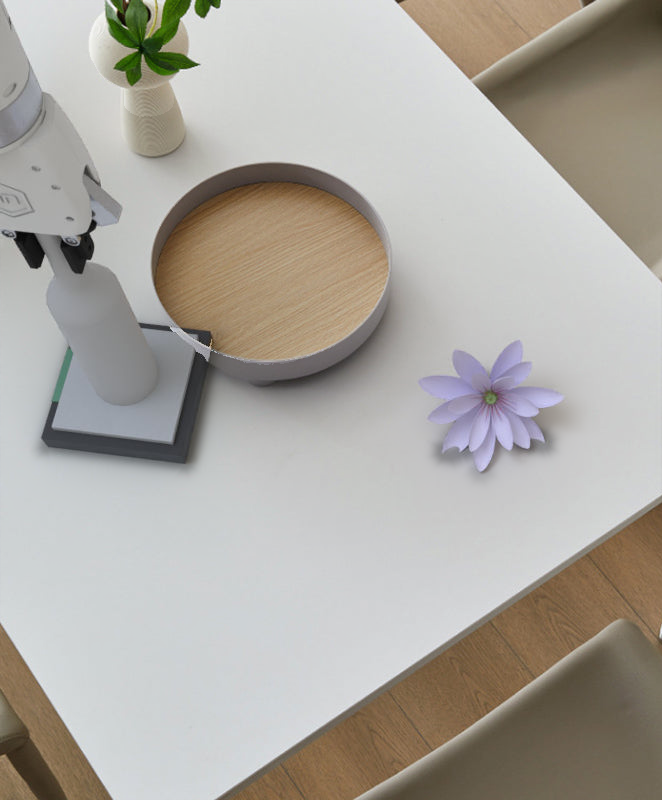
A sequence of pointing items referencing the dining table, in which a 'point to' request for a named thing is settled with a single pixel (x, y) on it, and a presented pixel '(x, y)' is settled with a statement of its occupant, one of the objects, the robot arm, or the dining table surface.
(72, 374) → the scale
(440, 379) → the water lily
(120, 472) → the dining table surface
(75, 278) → the bottle
